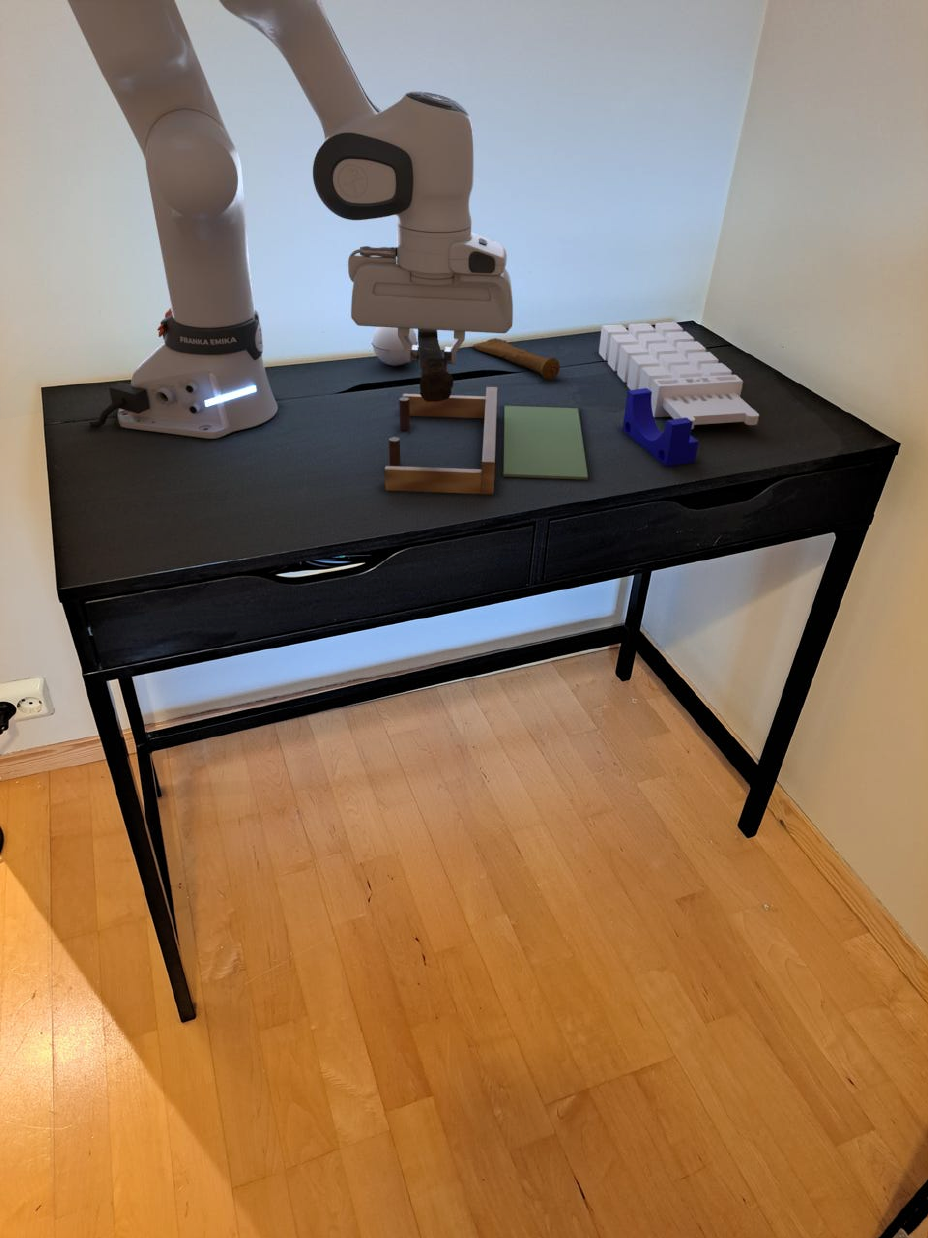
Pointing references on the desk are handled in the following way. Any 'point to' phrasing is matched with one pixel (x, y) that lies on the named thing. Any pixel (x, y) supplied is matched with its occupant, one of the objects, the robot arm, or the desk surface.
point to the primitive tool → (520, 357)
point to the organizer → (675, 373)
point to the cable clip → (658, 431)
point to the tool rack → (446, 477)
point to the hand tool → (433, 368)
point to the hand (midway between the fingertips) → (431, 361)
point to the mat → (543, 443)
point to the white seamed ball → (391, 345)
